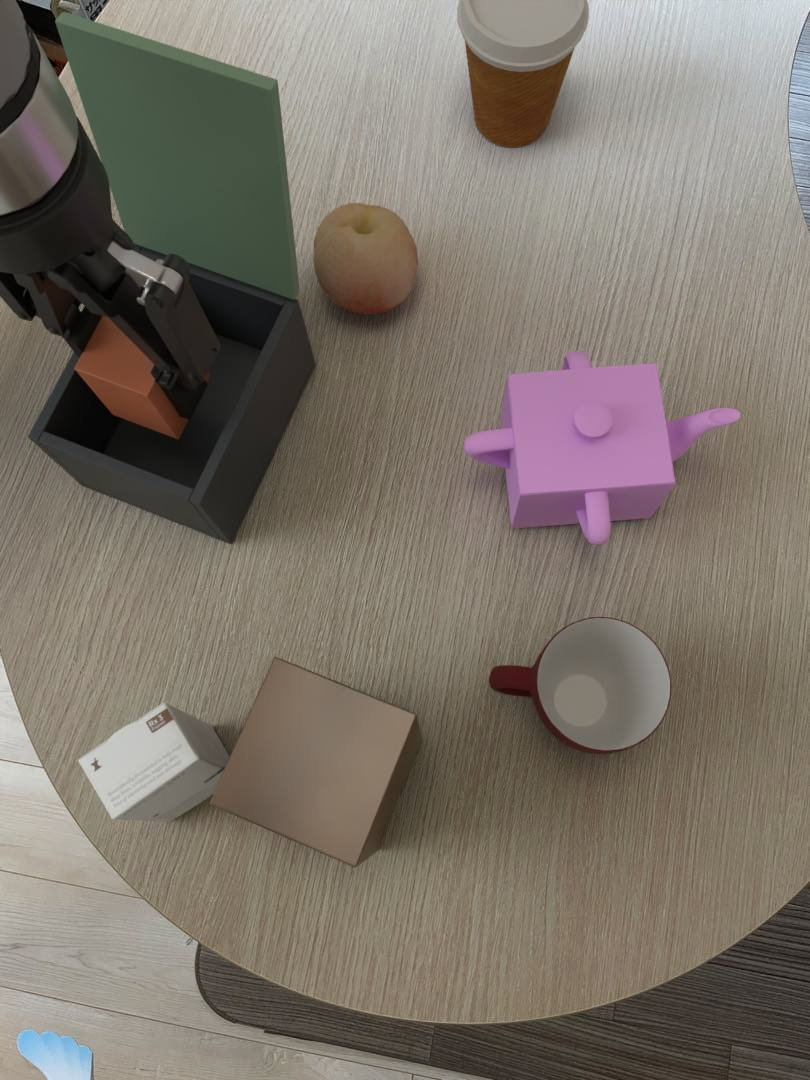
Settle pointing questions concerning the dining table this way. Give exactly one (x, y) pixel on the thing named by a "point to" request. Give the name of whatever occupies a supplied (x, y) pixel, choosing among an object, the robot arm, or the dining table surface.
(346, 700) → the stand
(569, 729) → the mug
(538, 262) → the dining table surface
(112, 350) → the block
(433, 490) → the dining table surface
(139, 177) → the bin lid
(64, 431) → the bin
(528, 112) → the disposable coffee cup
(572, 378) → the teapot
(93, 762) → the cosmetic box
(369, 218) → the fruit
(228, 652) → the dining table surface
